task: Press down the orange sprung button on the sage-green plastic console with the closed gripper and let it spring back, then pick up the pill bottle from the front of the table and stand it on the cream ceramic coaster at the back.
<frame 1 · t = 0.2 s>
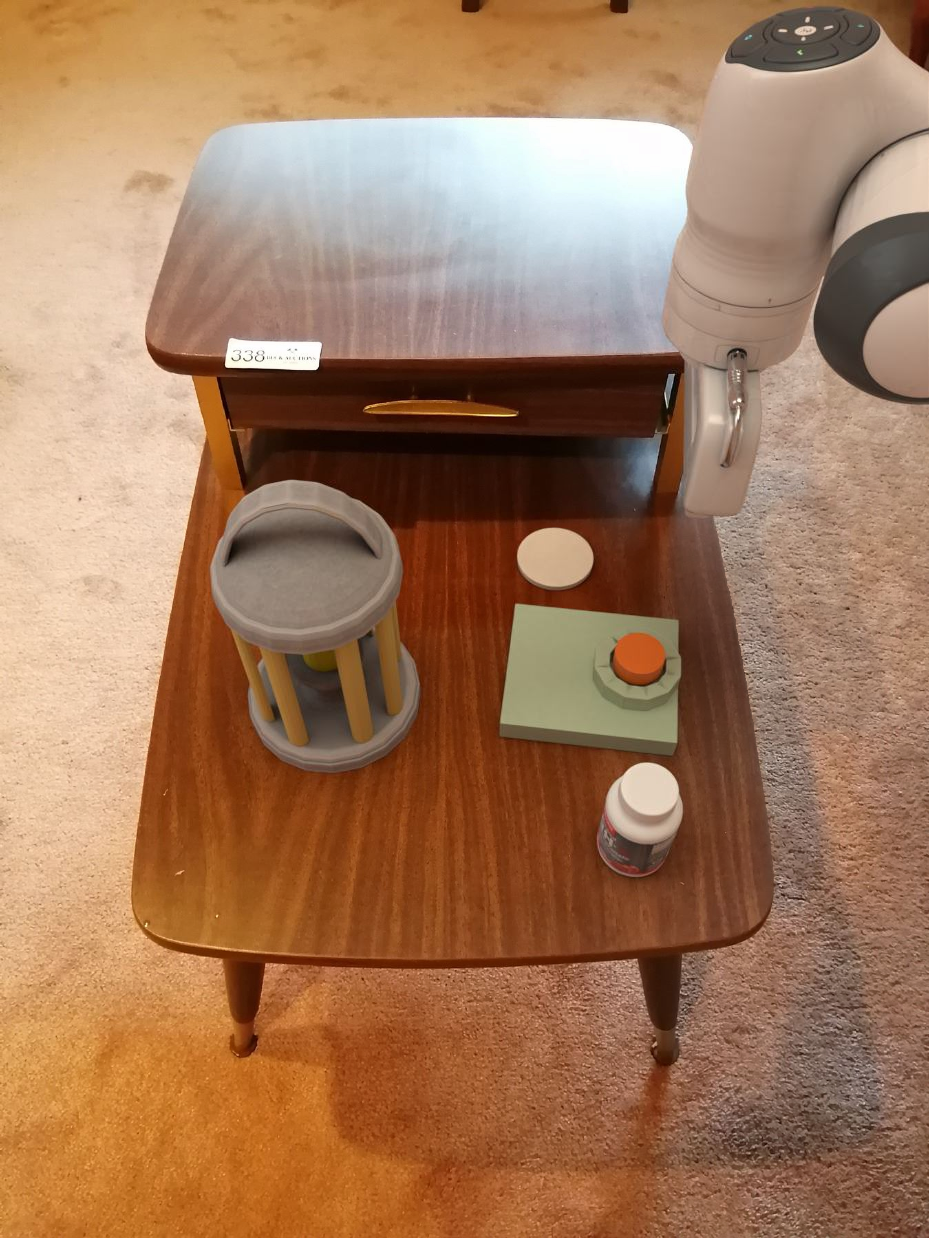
hand: (696, 463, 72), 19 cm above the table, tool pointing down, fingers open, 8 cm apart
console: (589, 683, 83), on the table
lantern: (336, 698, 83), on the table
press button: (638, 658, 79), point 4 cm above the table, slide at 0.1 cm
pill bottle: (631, 846, 75), on the table
coaster: (554, 560, 91), on the table
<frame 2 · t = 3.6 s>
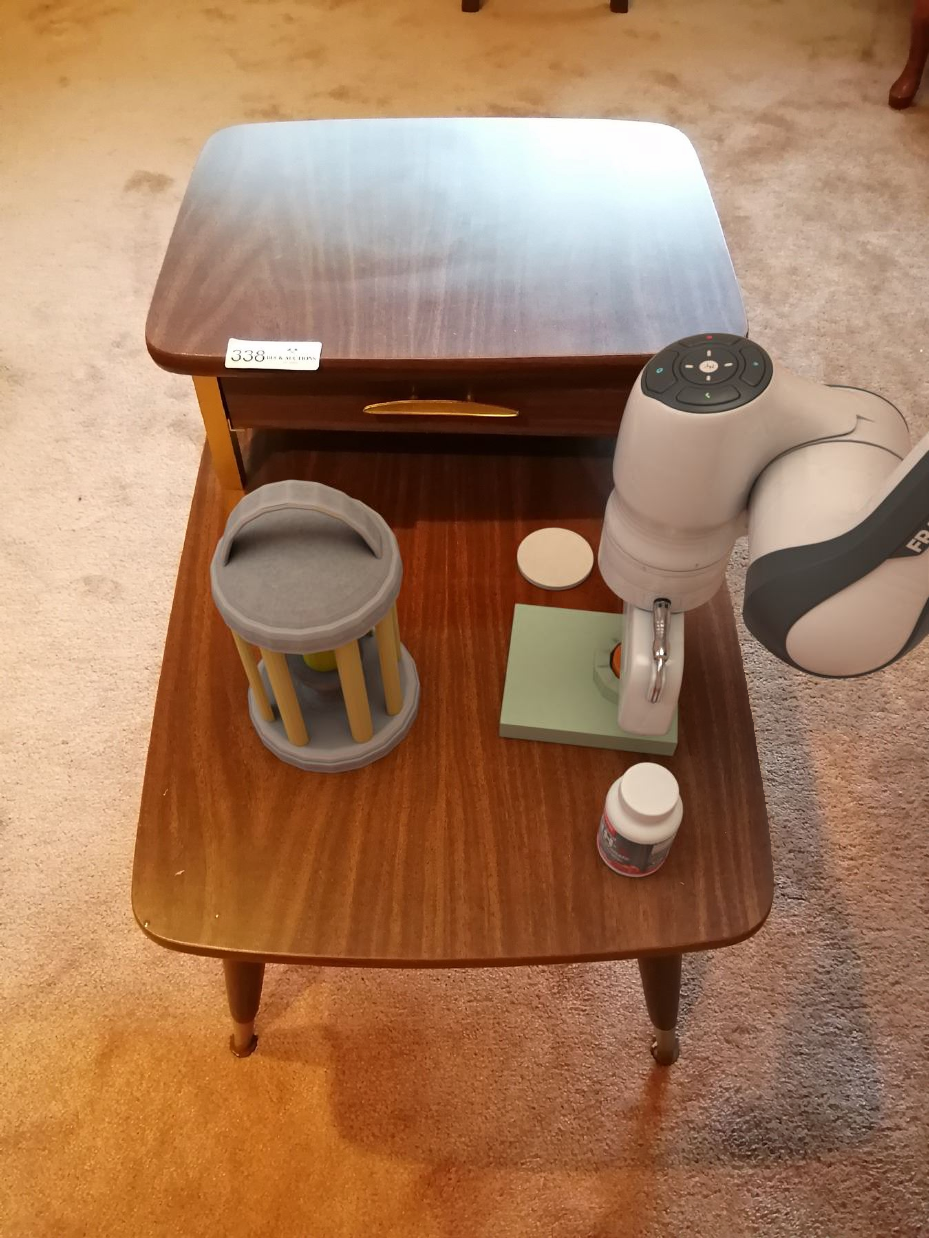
hand: (637, 659, 79), 4 cm above the table, tool pointing down, fingers closed, pressing on press button
press button: (637, 665, 80), point 4 cm above the table, slide at -0.9 cm, touching gripper
everything else where it was.
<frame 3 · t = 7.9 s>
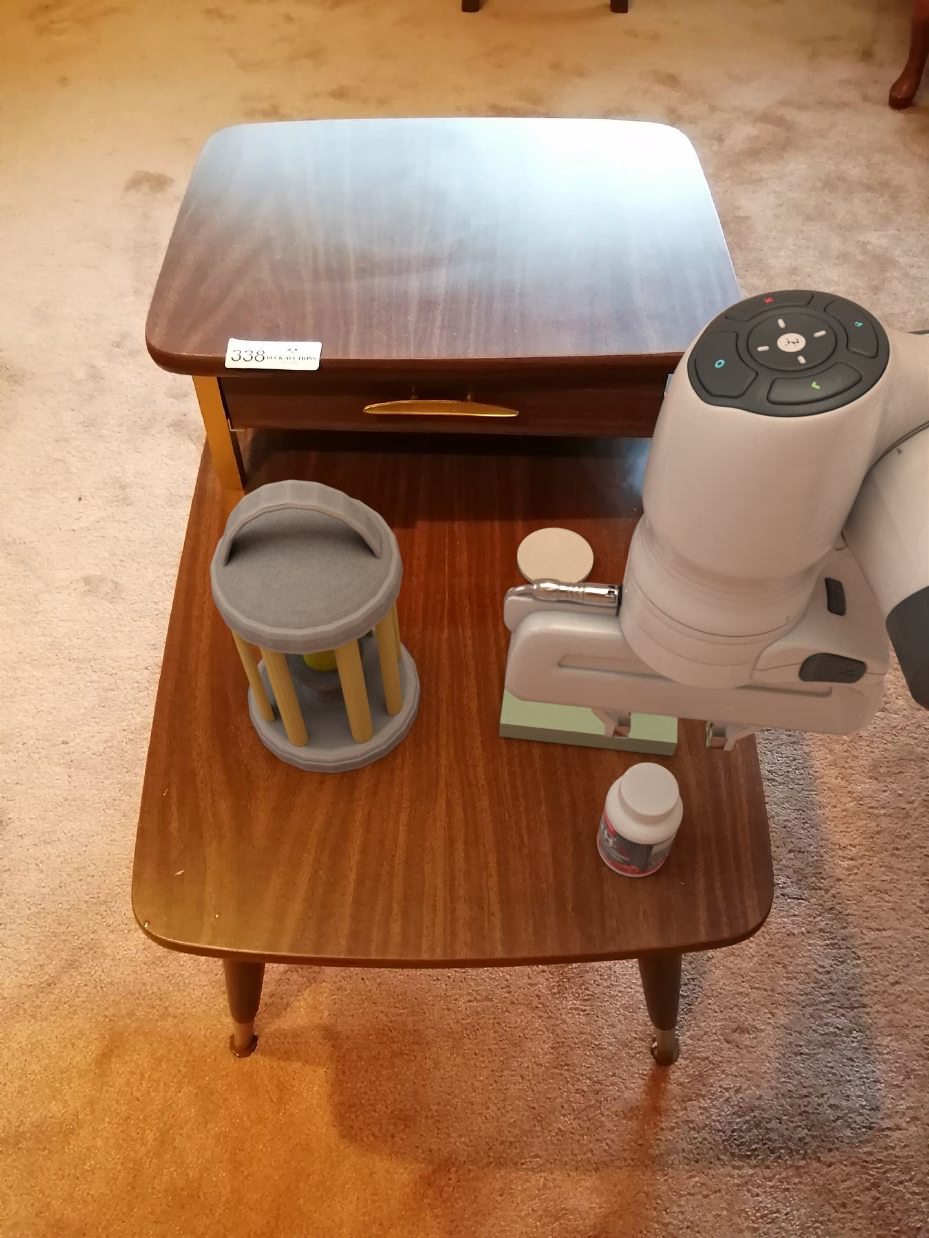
hand: (666, 733, 61), 17 cm above the table, tool pointing down, fingers open, 5 cm apart
press button: (638, 658, 79), point 4 cm above the table, slide at 0.1 cm
everything else where it was.
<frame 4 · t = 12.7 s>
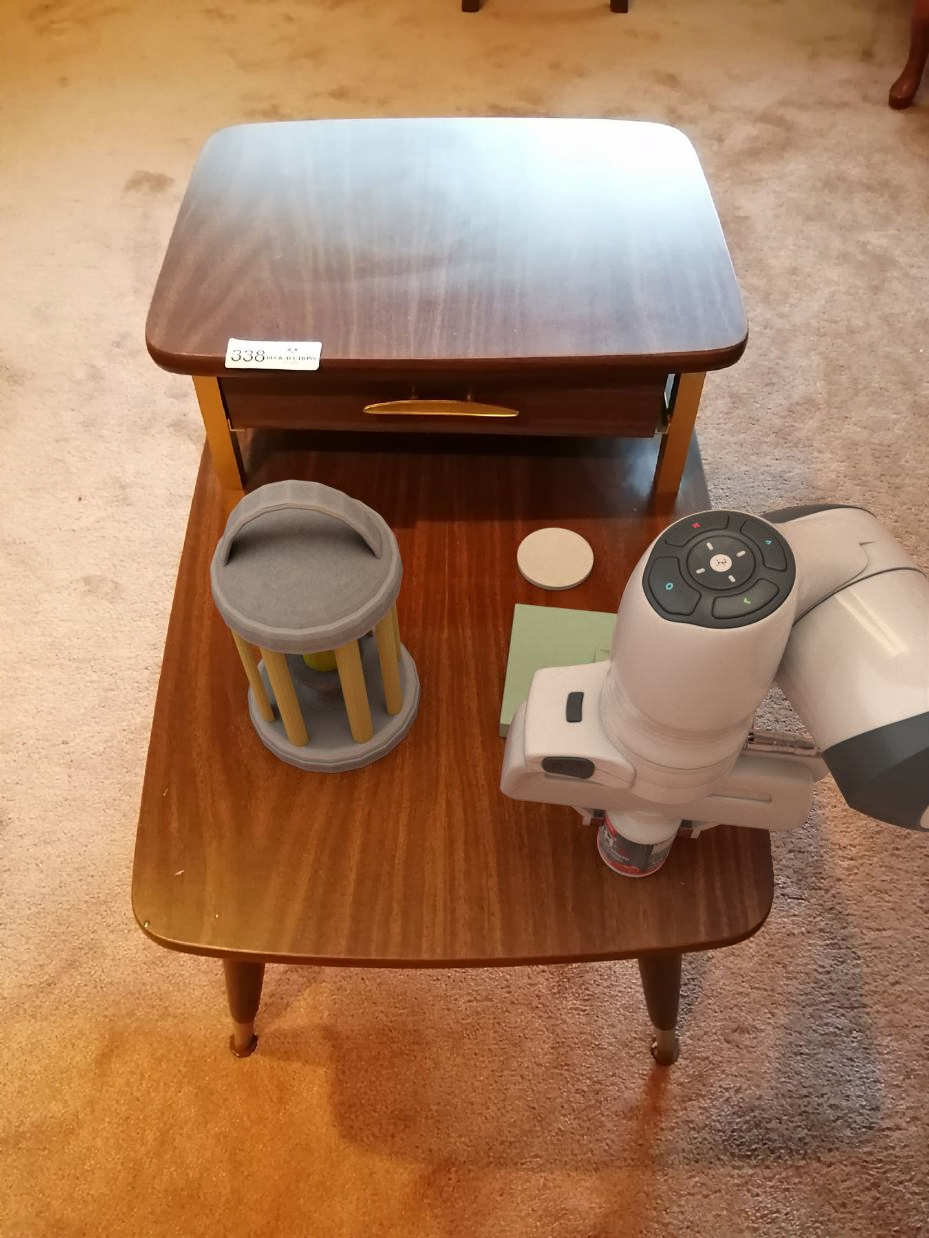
hand: (638, 822, 71), 4 cm above the table, tool pointing down, fingers closed on pill bottle, 5 cm apart
pill bottle: (631, 846, 75), on the table, touching gripper
everything else where it was.
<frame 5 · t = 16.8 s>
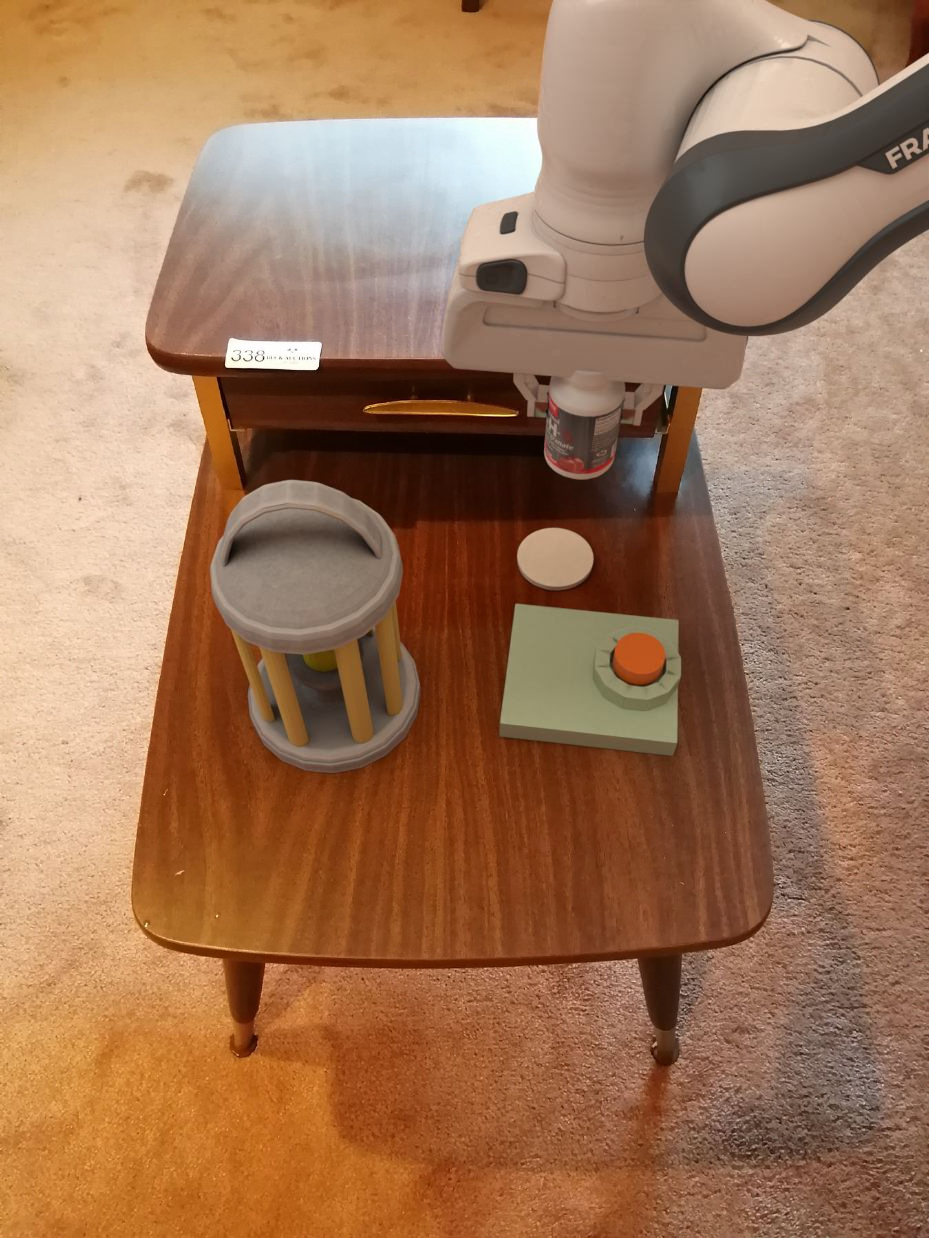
hand: (583, 415, 72), 21 cm above the table, tool pointing down, fingers closed on pill bottle, 5 cm apart
pill bottle: (578, 458, 75), point 17 cm above the table, touching gripper
everything else where it was.
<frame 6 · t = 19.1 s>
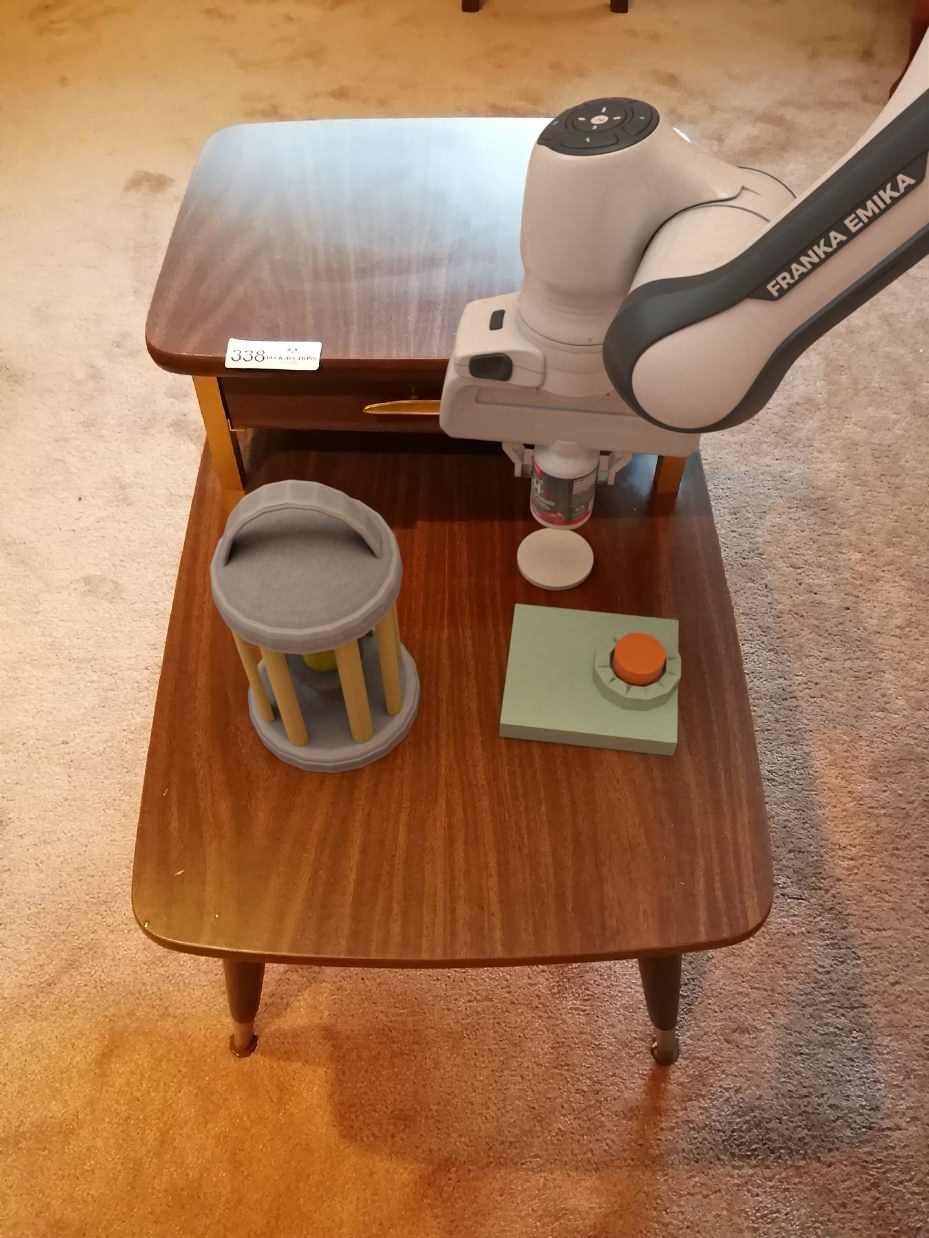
hand: (563, 475, 82), 11 cm above the table, tool pointing down, fingers closed on pill bottle, 5 cm apart
pill bottle: (560, 510, 85), point 7 cm above the table, touching gripper
everything else where it was.
when the fingers open (5 cm above the table, at t = 21.1 s): pill bottle stays where it is, resting on coaster.
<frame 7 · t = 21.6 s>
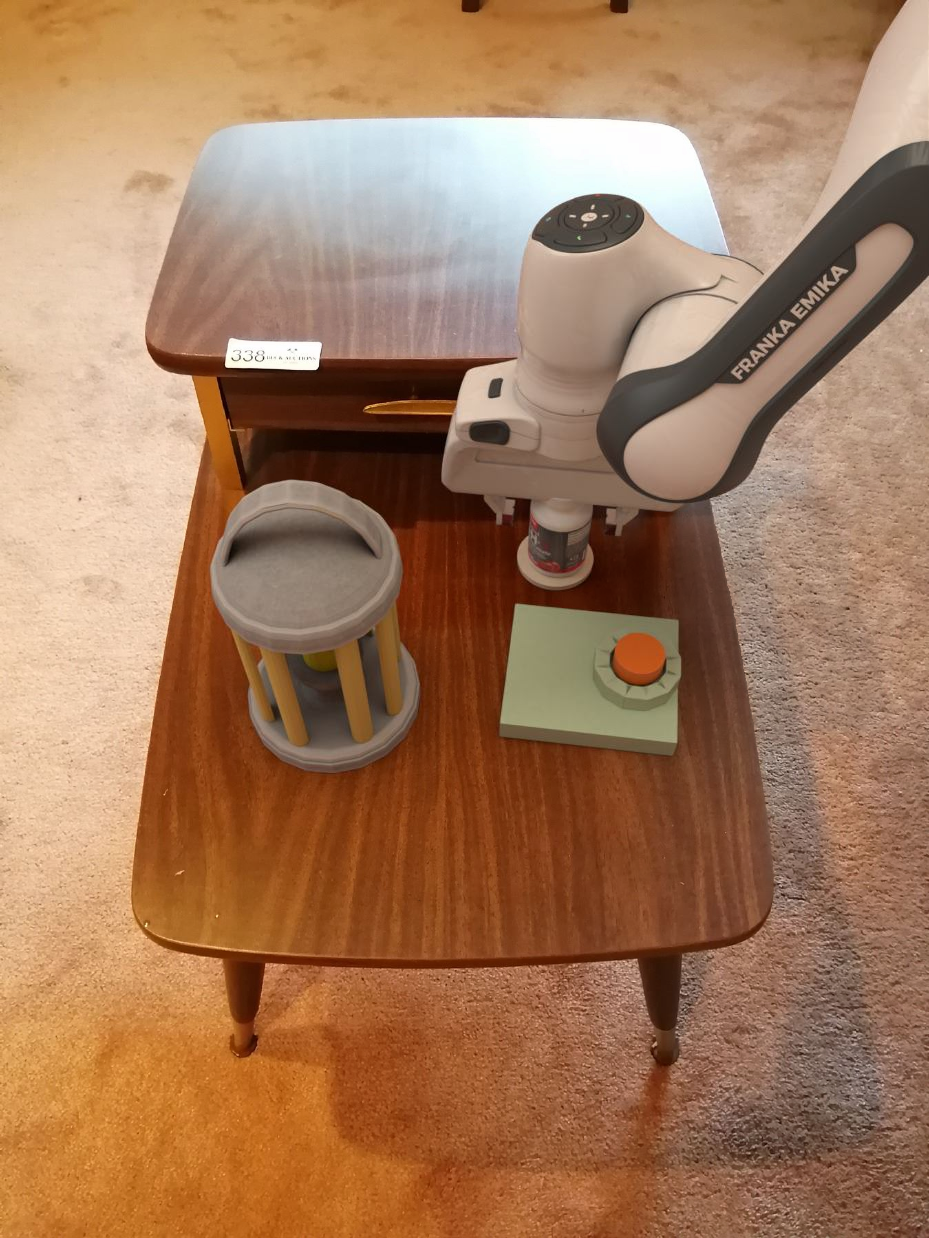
hand: (558, 525, 87), 5 cm above the table, tool pointing down, fingers open, 8 cm apart
pill bottle: (556, 558, 90), resting on coaster
everything else where it was.
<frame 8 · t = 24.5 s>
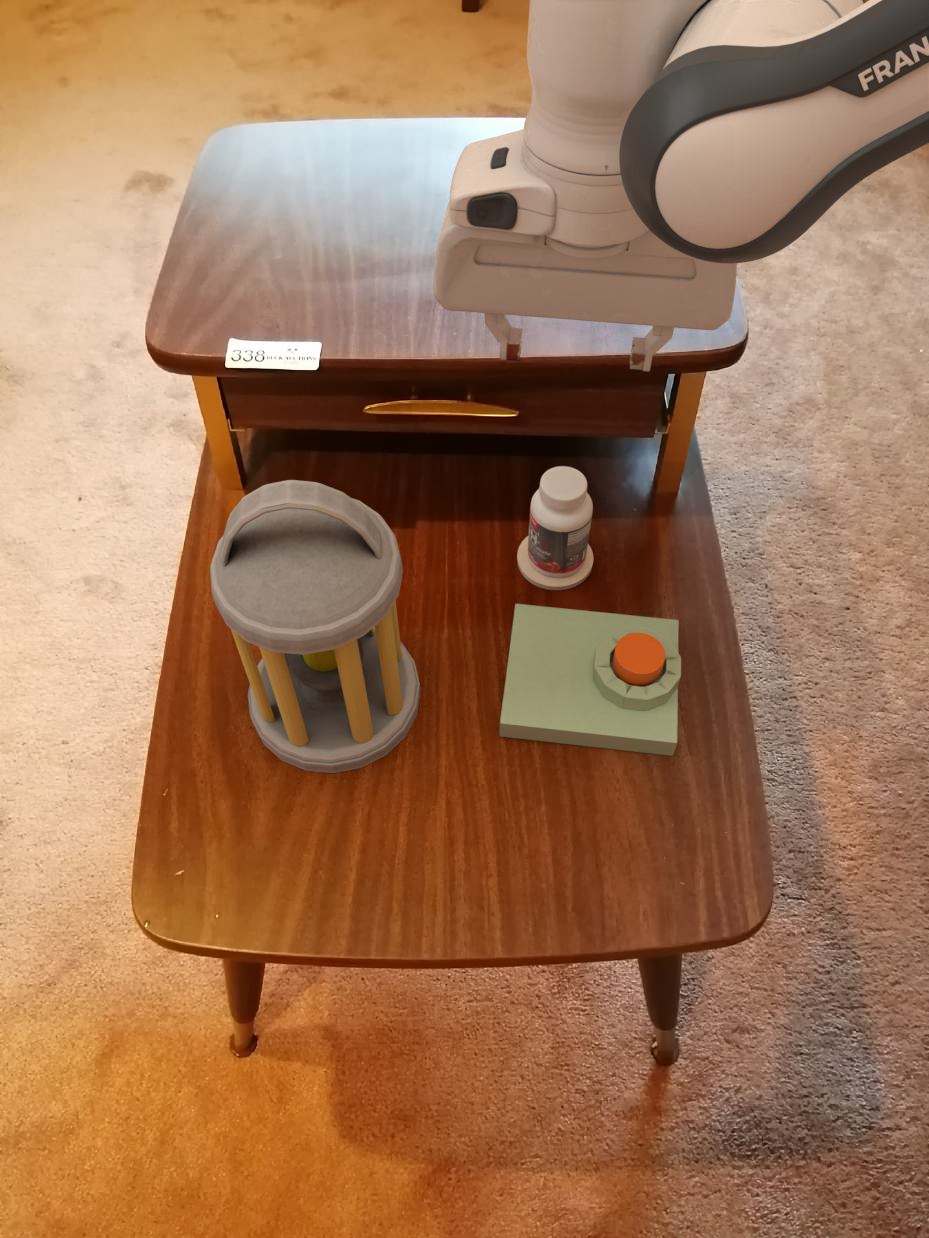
hand: (574, 360, 72), 23 cm above the table, tool pointing down, fingers open, 8 cm apart
nothing on the table moved.
at the end: press button pushed in 1.1 cm at the most during the clip, back to where it started at the end; press button slide at 0.1 cm; pill bottle 0.1 cm off-centre on the coaster, point 0.4 cm above the coaster's base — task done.
